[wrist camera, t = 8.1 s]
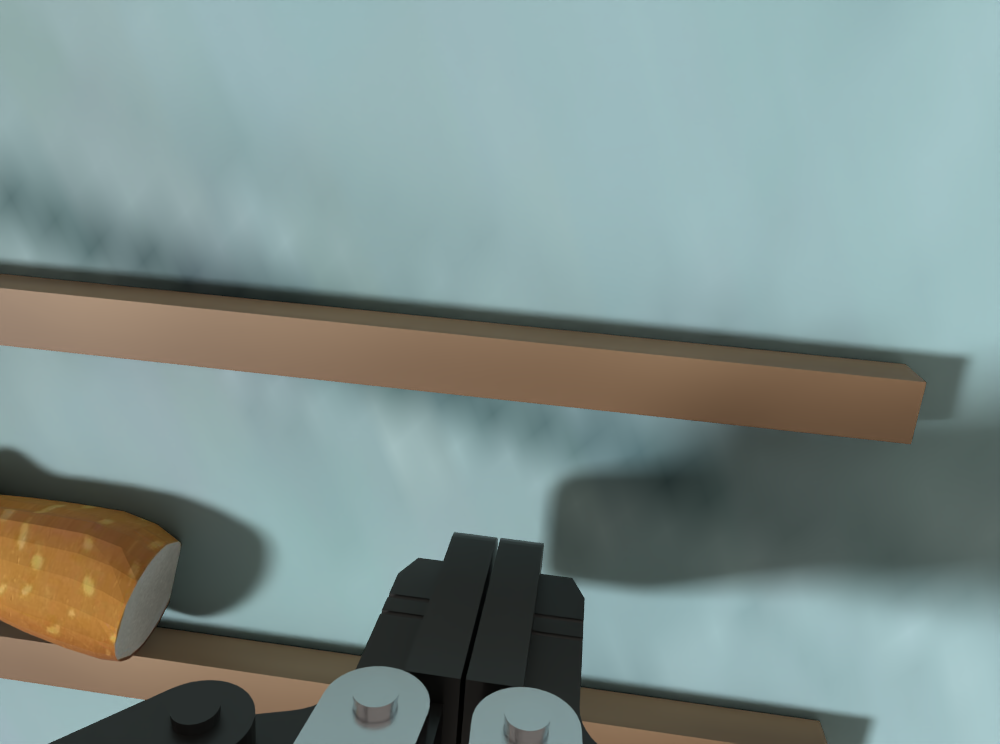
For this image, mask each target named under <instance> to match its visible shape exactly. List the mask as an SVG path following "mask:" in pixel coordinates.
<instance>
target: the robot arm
mask: <svg viewBox="0 0 1000 744" xmlns="http://www.w3.org/2000/svg"><path fill="white" fill-rule="evenodd" d="M497 547H498V550H497ZM543 548H544V543H536V542H528V541H520V540H513V539H505V538H501V539H500V542H499V546H498V539H497V538H496V537H488V536H480V535H473V534H465V533H457V532H454V534H453V536H452V538H451V541H450V544H449V547H448V550H447V552H446V555H445V558H444V561H438V560H431V559H423V558H418V559H416V560H415V561H414V562H412V563H411V564H410V565H409V566H407V567H406V568H405V569H403V570H402V571H401V572H400V573H398V575H397V577H396V580H395V582H394V584H393V586H392V589H391V591H390V593H389V597H388V598H387V600H386V602H385V604H384V607H383V609H382V614H380V616H379V618H378V620H377V622H376V625H375V627H374V629H373V631H372V634H371V636H370V638H369V640H368V643H367V645H366V647H365V649H364V652H363V654H362V656H361V658H360V661H359V663H358V665H357V667H356V669H355V670H353V671H350V672H348V673H346V674H344V675H342V676H340V677H339V678H337V679H336V680H334V681H333V682H332V683H331V684H330V685H329V686H328V688H327V689H326V690H325V692H324V693H323V695H322V697H321V698H320V700H319V702H318V703H317V704H316V705H314V706H311V707H307V708H303V709H298V710H291V711H281V712H271V713H261V714H255V705H254V702H253V699H252V698H251V696H250V695H249V694H248V693H247V692H246V691H245V690H244V689H243V688H241V687H239V686H237V685H235V684H232V683H229V682H224V681H219V680H201V681H194V682H189V683H186V684H182V685H179V686H176V687H174V688H171V689H169V690H167V691H165V692H162V693H160V694H158V695H156V696H153V697H151V698H149V699H147V700H145V701H142V702H140V703H138V704H136V705H133V706H131V707H129V708H127V709H125V710H122V711H120V712H118V713H116V714H113V715H111V716H109V717H107V718H105V719H102V720H100V721H98V722H96V723H93V724H91V725H89V726H87V727H85V728H82V729H80V730H78V731H76V732H73V733H71V734H69V735H67V736H65V737H62V738H60V739H58V740H56V741H53V742H51V743H49V744H597V743H596V742H595V741H594V740H593V739H592V738H591V736H590V735H589V734H588V732H587V731H586V729H585V727H584V725H583V723H582V720H581V716H580V689H581V667H582V644H583V642H582V640H583V620H584V597H583V595H582V593H581V592H580V590H579V588H578V587H577V585H576V583H575V582H574V580H573V578H568V577H560V576H553V575H545V574H541V568H542V558H543Z"/></svg>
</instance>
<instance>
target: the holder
mask: <svg viewBox="0 0 1000 744" xmlns="http://www.w3.org/2000/svg"><path fill="white" fill-rule="evenodd" d="M0 345H5V346H14V347H23V348H33V349H42V350H51V351H60V352H69V353H78V354H88V355H97V356H106V357H115V358H124V359H134V360H143V361H152V362H161V363H170V364H179V365H189V366H198V367H207V368H216V369H225V370H235V371H244V372H253V373H262V374H271V375H280V376H290V377H299V378H308V379H317V380H326V381H335V382H345V383H354V384H363V385H372V386H381V387H391V388H400V389H409V390H418V391H427V392H436V393H446V394H455V395H464V396H473V397H482V398H492V399H501V400H510V401H519V402H528V403H537V404H547V405H556V406H565V407H574V408H583V409H592V410H602V411H611V412H620V413H629V414H638V415H648V416H657V417H666V418H675V419H684V420H693V421H703V422H712V423H721V424H730V425H739V426H749V427H758V428H767V429H776V430H785V431H794V432H804V433H813V434H822V435H831V436H840V437H849V438H859V439H868V440H877V441H886V442H895V443H905V444H911V442H912V438H913V434H914V430H915V426H916V422H917V418H918V414H919V410H920V406H921V402H922V398H923V394H924V390H925V386H926V381H924V380H923V379H922V378H921V377H920V376H919V375H917V374H916V373H915V372H914V371H913V370H912V369H910V368H909V367H908V366H907V365H906V364H898V363H888V362H878V361H868V360H858V359H848V358H838V357H828V356H818V355H808V354H798V353H788V352H778V351H768V350H758V349H748V348H738V347H728V346H718V345H708V344H698V343H688V342H678V341H668V340H658V339H648V338H638V337H628V336H618V335H608V334H598V333H588V332H578V331H568V330H558V329H548V328H538V327H528V326H518V325H508V324H498V323H488V322H478V321H468V320H458V319H448V318H438V317H428V316H418V315H408V314H398V313H388V312H378V311H368V310H358V309H348V308H338V307H328V306H318V305H308V304H298V303H288V302H278V301H268V300H258V299H248V298H238V297H228V296H218V295H208V294H198V293H188V292H178V291H168V290H158V289H148V288H138V287H128V286H118V285H108V284H98V283H88V282H78V281H68V280H58V279H48V278H38V277H28V276H18V275H8V274H0ZM360 658H361V656H358V655H351V654H344V653H336V652H329V651H322V650H315V649H308V648H301V647H294V646H287V645H280V644H273V643H266V642H259V641H252V640H245V639H238V638H231V637H224V636H217V635H209V634H202V633H195V632H188V631H181V630H174V629H167V628H160V627H156V628H155V629H154V631H153V633H152V634H151V636H150V637H149V638H148V640H147V641H146V642H145V644H144V645H143V646H142V647H141V649H140V650H139V651H138V652H136V653H135V654H134V655H133V656H132V657H131V658H130V659H128V660H125V661H121V662H119V661H110V660H101V659H98V658H95V657H92V656H88V655H85V654H82V653H79V652H76V651H72V650H69V649H66V648H63V647H61V646H58V645H56V644H53V643H51V642H48V641H46V640H43V639H41V638H38V637H36V636H33V635H31V634H28V633H26V632H23V631H21V630H19V629H17V628H15V627H13V626H11V625H9V624H7V623H5V622H3V621H1V620H0V678H4V679H11V680H18V681H24V682H31V683H38V684H44V685H51V686H57V687H64V688H71V689H77V690H84V691H91V692H97V693H104V694H110V695H117V696H124V697H130V698H137V699H144V700H147V699H149V698H151V697H153V696H156V695H158V694H160V693H162V692H165V691H167V690H169V689H171V688H174V687H176V686H179V685H182V684H186V683H189V682H194V681H201V680H219V681H224V682H229V683H232V684H235V685H237V686H239V687H241V688H243V689H244V690H245V691H246V692H247V693H248V694H249V695H250V696H251V698H252V699H253V702H254V705H255V714H261V713H271V712H281V711H291V710H298V709H303V708H307V707H311V706H314V705H316V704H317V703H318V702H319V700H320V698H321V697H322V695H323V693H324V692H325V690H326V689H327V688H328V686H329V685H330V684H331V683H332V682H333V681H334V680H336V679H337V678H339V677H340V676H342V675H344V674H346V673H348V672H350V671H353V670H355V669H356V667H357V665H358V663H359V661H360ZM580 716H581V720H582V723H583V725H584V727H585V729H586V731H587V732H588V734H589V735H590V736H591V738H592V739H593V740H594V741H595V742H596V743H597V744H827V741H826V738H825V735H824V732H823V729H822V726H821V724H820V721H816V720H809V719H802V718H795V717H788V716H781V715H774V714H767V713H760V712H753V711H746V710H739V709H732V708H725V707H718V706H710V705H703V704H696V703H689V702H682V701H675V700H668V699H661V698H654V697H647V696H640V695H633V694H626V693H619V692H612V691H605V690H598V689H591V688H583V687H581V689H580Z"/></svg>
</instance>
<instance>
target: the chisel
mask: <svg viewBox="0 0 1000 744" xmlns="http://www.w3.org/2000/svg"><path fill="white" fill-rule="evenodd" d="M180 549H181V543H180V542H179V541H178V540H176V539H175V538H174V537H173V536H171V535H170V534H169V533H168V532H166V531H165V530H164V529H163V528H161V527H160V526H159V525H157V524H155V523H153V522H150V521H148V520H145V519H142V518H140V517H137V516H135V515H132V514H130V513H127V512H125V511H120V510H114V509H107V508H101V507H95V506H89V505H83V504H77V503H69V502H62V501H54V500H46V499H38V498H31V497H20V496H10V495H0V620H1V621H3V622H5V623H7V624H9V625H11V626H13V627H15V628H17V629H19V630H21V631H23V632H26V633H28V634H31V635H33V636H36V637H38V638H41V639H43V640H46V641H48V642H51V643H53V644H56V645H58V646H61V647H63V648H66V649H69V650H72V651H76V652H79V653H82V654H85V655H88V656H92V657H95V658H98V659H101V660H110V661H119V662H121V661H125V660H128V659H130V658H131V657H132V656H133V655H134V654H135V653H136V652H138V651H139V650H140V649H141V647H142V646H143V645H144V644H145V642H146V641H147V640H148V638H149V637H150V636H151V634H152V633H153V631H154V629H155V628H156V626H157V625H158V623H159V621H160V619H161V617H162V615H163V613H164V612H165V610H166V608H167V606H168V604H169V601H170V596H171V592H172V587H173V582H174V578H175V573H176V568H177V563H178V559H179V554H180Z"/></svg>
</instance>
